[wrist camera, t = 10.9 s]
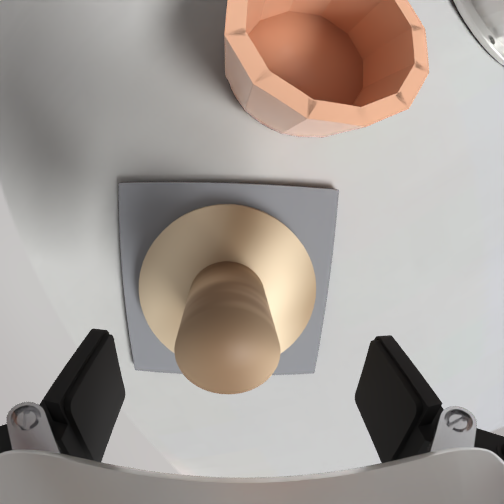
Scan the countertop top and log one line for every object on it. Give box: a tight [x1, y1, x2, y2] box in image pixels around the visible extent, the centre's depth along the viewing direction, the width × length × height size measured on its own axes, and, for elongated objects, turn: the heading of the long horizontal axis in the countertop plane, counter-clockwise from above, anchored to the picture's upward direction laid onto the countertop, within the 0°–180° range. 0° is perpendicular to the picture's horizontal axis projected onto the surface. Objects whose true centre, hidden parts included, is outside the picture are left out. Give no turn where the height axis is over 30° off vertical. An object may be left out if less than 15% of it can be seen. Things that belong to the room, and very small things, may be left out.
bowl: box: [224, 0, 429, 138], centre depth 13 cm, size 9×9×7 cm
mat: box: [119, 182, 339, 375], centre depth 19 cm, size 13×13×1 cm
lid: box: [139, 204, 316, 394], centre depth 16 cm, size 11×11×7 cm
